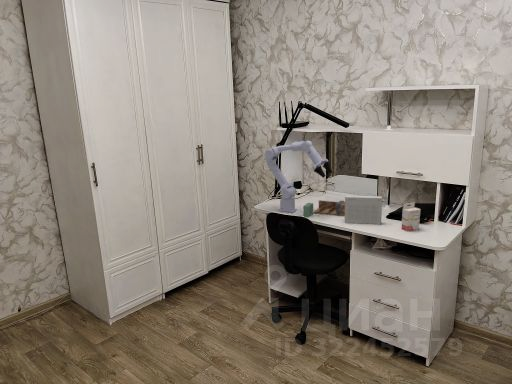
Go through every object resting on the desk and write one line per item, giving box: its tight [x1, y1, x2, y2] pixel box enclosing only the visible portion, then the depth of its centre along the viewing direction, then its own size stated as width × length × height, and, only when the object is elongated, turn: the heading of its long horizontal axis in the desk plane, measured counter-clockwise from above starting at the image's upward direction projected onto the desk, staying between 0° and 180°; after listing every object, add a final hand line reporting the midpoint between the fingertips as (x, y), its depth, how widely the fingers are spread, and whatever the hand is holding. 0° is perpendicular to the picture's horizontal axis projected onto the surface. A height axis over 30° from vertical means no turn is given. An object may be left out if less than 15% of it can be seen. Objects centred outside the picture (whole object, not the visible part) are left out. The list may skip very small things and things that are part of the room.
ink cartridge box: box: [401, 201, 421, 232], centre depth 222 cm, size 9×5×15 cm, turn 112°
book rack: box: [313, 200, 345, 217], centre depth 259 cm, size 20×11×8 cm, turn 64°
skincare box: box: [344, 195, 383, 225], centre depth 237 cm, size 21×5×16 cm, turn 74°
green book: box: [302, 202, 314, 218], centre depth 256 cm, size 4×9×7 cm, turn 154°
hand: (327, 175), depth 248 cm, fingers open, 7 cm apart
